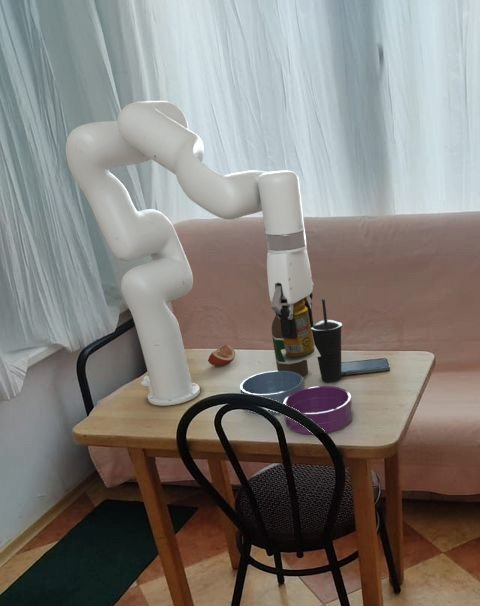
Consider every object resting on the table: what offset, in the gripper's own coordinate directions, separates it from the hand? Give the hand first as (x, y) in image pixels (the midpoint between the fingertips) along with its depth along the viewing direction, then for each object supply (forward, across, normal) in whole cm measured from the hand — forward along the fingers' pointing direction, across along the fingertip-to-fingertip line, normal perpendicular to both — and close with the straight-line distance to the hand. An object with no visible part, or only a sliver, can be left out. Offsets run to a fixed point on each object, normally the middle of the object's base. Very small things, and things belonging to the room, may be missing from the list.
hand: (298, 331), depth 129 cm
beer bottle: (+19, -21, -16) cm, 32 cm away
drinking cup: (+19, -21, -5) cm, 29 cm away
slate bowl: (+19, -5, -12) cm, 23 cm away
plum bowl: (+19, +1, +3) cm, 20 cm away
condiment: (+5, 0, 0) cm, 5 cm away
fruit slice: (+19, -23, -39) cm, 49 cm away
